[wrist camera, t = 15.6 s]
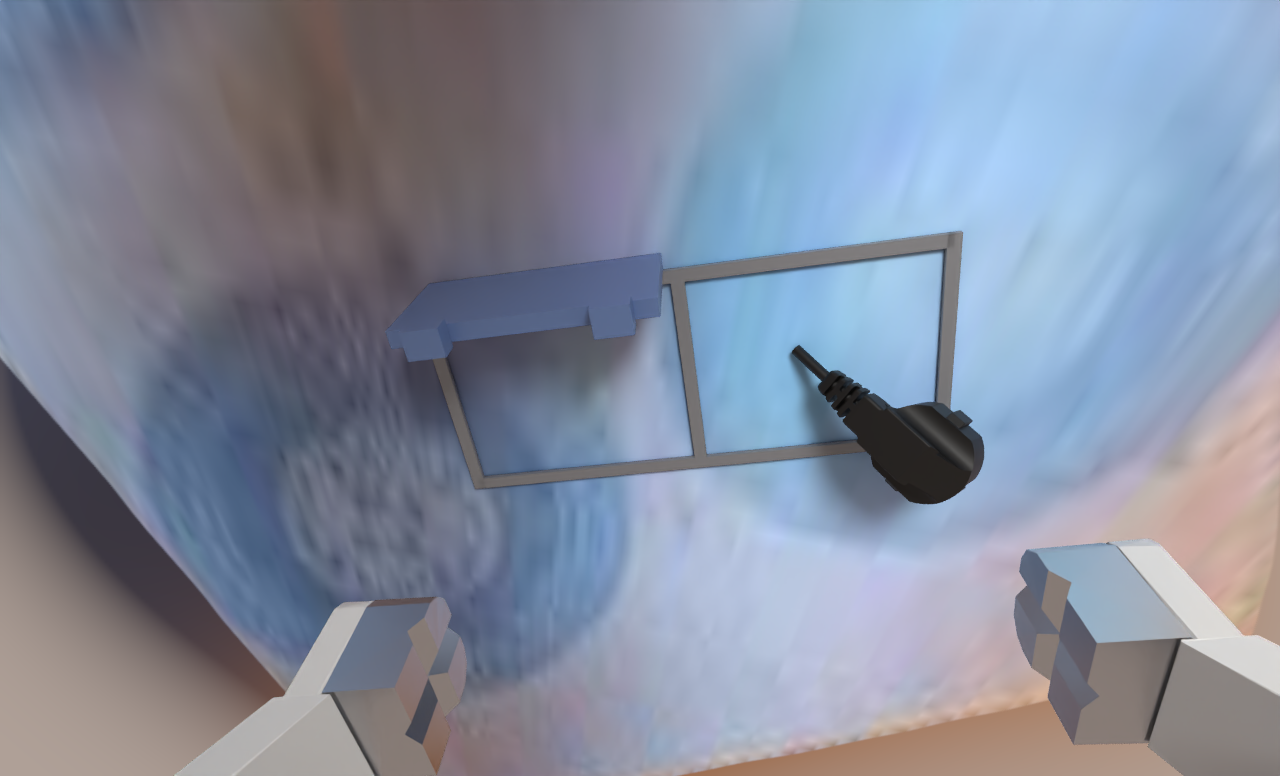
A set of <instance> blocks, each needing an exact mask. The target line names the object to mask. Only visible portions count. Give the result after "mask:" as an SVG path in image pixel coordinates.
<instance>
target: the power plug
mask: <svg viewBox="0 0 1280 776" xmlns="http://www.w3.org/2000/svg"><path fill="white" fill-rule="evenodd" d="M792 354H793V355H794V356H795V357H796V358H797V359H799V360H800V361H801V362H802V363H803V364H804V365H805V366H806V367H807V368H808V369H809V370H810V371H811V372H812V373H814V374H815V375H816V376H817V377H818V378H819V379H820V380H821V381H822V382H821V383H820V384H819V386H818V389H819V391H820V392H821V393H822V395H825V396H826V400H827V401H828V402H834V403H833V404H832V405H831V407H832V408H833V409H834V410H837V411H838V412H837V415H838V416H839V417H844V416H846V417H845V418H844V419H843V422H844V424H845V425H846V426H847V427H848V428H849V429H850V430H851V431H852V432H854V433H855V434H856V435H857V437H858V439H857V440H856V442H857V443H858V444H859V445H860V446H861V447H862V448H863V449H864V450H865V451H866V452H867V453H868V454H869V455H870V456H871V460H872V464H873V467H874V468H875V469H876V470H877V471H878V472H879V473H880V474H881V475H882V476H883V477H885V478H886V480H885V481H886V482H887V483H888V484H889V485H890V486H891V487H892V488H893V489H894V490H895V491H899V492H900V493H901V494H902V495H903V496H904V497H905V498H906V499H907V500H908V501H910V502H914V503H919V504H937V503H940V502H943V501H946V500H948V499H950V498H951V497H953V496H955V495H956V494H958V493H959V492H960V491H962V490H963V489H965V486H966V485H967V484H968V483H970V482H971V481H973V480H974V479H975V478H976V477H977V475H978V474H979V472H980V470H981V467H982V464H983V460H984V445H983V440H982V437H981V436H980V435H979V434H978V433H977V432H976V431H975V430H973V429H972V428H971V427H970V426H969V424H970V423H971V422H972V420H971V419H970V418H969V417H968V416H967V415H965V414H964V413H963V412H962V411H961V410H959V411H956V412H952V411H951V410H950V409H949V408H948V407H947V406H945V405H944V404H943V403H938V402H925V403H919V404H915V405H910V406H906V407H902V408H898V409H897V408H893V407H891V406H890V405H889V404H888V403H886V402H885V401H884V400H883V399H882V398H880V397H879V396H877V395H876V394H874V393H873V394H868V393H869V392H870V390H868V389H866V388H862V385H860V384H859V383H853V381H854V380H853V379H851V378H848V377H846V375H845V374H843V373H842V372H840V371H838V370H837V371H831V372H828V371H827V370H826V369H825V368H824V367H823V366H822V365H820V364H819V363H818V362H817V361H816V360H815V359H814V358H813V357H812V356H811V355H810V354H808V353H807V352H806V351H805V350H804V349H803V348H802V347H801V346H800V345H798V346H797V347H795V348H794V350H793V351H792Z"/></svg>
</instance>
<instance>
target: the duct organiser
mask: <svg viewBox="0 0 1280 776" xmlns="http://www.w3.org/2000/svg"><path fill="white" fill-rule="evenodd" d="M962 239H963V232H962V231H956V232H948V233H940V234H933V235H925V236H917V237H910V238H902V239H894V240H887V241H879V242H871V243H863V244H856V245H848V246H840V247H833V248H825V249H817V250H809V251H802V252H794V253H786V254H779V255H771V256H763V257H756V258H748V259H740V260H732V261H725V262H717V263H709V264H702V265H694V266H686V267H678V268H671V269H663V265H662V258H661V253H657V254H649V255H642V256H634V257H627V258H619V259H611V260H604V261H596V262H589V263H581V264H574V265H566V266H559V267H551V268H544V269H536V270H529V271H521V272H513V273H506V274H498V275H491V276H483V277H476V278H468V279H461V280H453V281H446V282H438V283H430V284H428V285H427V286H426V287H425V289H424V290H423V291H422V292H421V293H420V294H419V295H418V296H417V297H416V298H415V300H414V301H413V302H412V303H411V304H410V305H409V306H408V307H407V308H406V309H405V310H404V312H403V313H402V314H401V315H400V316H399V317H398V318H397V319H396V320H395V321H394V323H393V324H392V325H391V326H390V327H389V328H388V329H387V330H386V331H385V333H386V335H387V338H388V341H389V344H390V346H391V349H398V348H404V351H405V354H406V357H407V360H408V362H413V361H422V360H430V359H433V362H434V365H435V368H436V371H437V374H438V377H439V380H440V383H441V386H442V389H443V393H444V396H445V399H446V402H447V405H448V408H449V411H450V414H451V417H452V420H453V423H454V426H455V429H456V432H457V435H458V438H459V441H460V444H461V447H462V450H463V453H464V456H465V459H466V462H467V465H468V468H469V471H470V474H471V477H472V480H473V484H474V487H475V489H481V488H491V487H502V486H512V485H523V484H533V483H544V482H554V481H564V480H575V479H585V478H596V477H606V476H617V475H627V474H638V473H648V472H659V471H669V470H680V469H690V468H700V467H711V466H721V465H732V464H742V463H753V462H763V461H774V460H784V459H795V458H805V457H815V456H826V455H836V454H847V453H857V452H866V451H865V450H864V449H863V448H862V447H861V446H860V445H859V444H858V443H857V442H856V440H849V441H839V442H829V443H819V444H808V445H798V446H788V447H778V448H767V449H757V450H747V451H737V452H727V453H716V454H706V446H705V438H704V430H703V422H702V414H701V407H700V399H699V391H698V383H697V375H696V367H695V359H694V352H693V344H692V336H691V328H690V320H689V312H688V304H687V297H686V289H685V282H686V281H694V280H702V279H710V278H718V277H726V276H733V275H741V274H749V273H757V272H765V271H773V270H781V269H788V268H796V267H804V266H812V265H820V264H828V263H836V262H843V261H851V260H859V259H867V258H875V257H883V256H891V255H899V254H906V253H914V252H922V251H930V250H938V249H945V258H944V274H943V291H942V307H941V323H940V340H939V356H938V372H937V389H936V402H938V403H943V404H944V405H945V406H947V407H948V408H949V409H950V404H951V390H952V376H953V363H954V349H955V335H956V322H957V308H958V294H959V280H960V267H961V253H962ZM663 284H671V289H672V296H673V303H674V311H675V318H676V325H677V332H678V340H679V347H680V354H681V361H682V369H683V376H684V383H685V391H686V398H687V405H688V412H689V420H690V427H691V434H692V441H693V449H694V456H686V457H675V458H665V459H655V460H645V461H634V462H624V463H614V464H604V465H593V466H583V467H573V468H563V469H553V470H542V471H532V472H522V473H512V474H501V475H491V476H484V473H483V470H482V467H481V464H480V461H479V458H478V454H477V451H476V448H475V445H474V442H473V439H472V436H471V432H470V429H469V426H468V423H467V420H466V417H465V414H464V410H463V407H462V404H461V401H460V398H459V395H458V392H457V388H456V385H455V382H454V379H453V376H452V373H451V370H450V366H449V363H448V360H447V356H448V354H449V353H450V351H451V350H452V348H453V344H452V342H455V341H463V340H471V339H480V338H488V337H496V336H504V335H513V334H521V333H529V332H537V331H545V330H554V329H562V328H570V327H578V326H586V325H591V327H592V332H593V337H594V340H598V339H606V338H615V337H623V336H631V335H635V330H636V321H635V320H636V319H644V318H652V317H660V314H661V297H662V285H663Z"/></svg>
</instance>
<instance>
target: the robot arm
mask: <svg viewBox="0 0 1280 776" xmlns="http://www.w3.org/2000/svg"><path fill="white" fill-rule="evenodd" d="M1019 572H1020V574H1021V576H1022V577H1023V579H1024V581H1025V582H1026V584H1027V586H1026V587H1025V588H1024V589H1023V590H1022V591H1021V592H1020V593H1019V594H1018V595H1017V596H1016V598H1015V609H1014V619H1015V625H1016V631H1017V636H1018V639H1019V642H1020V644H1021V647H1022V650H1023V652H1024V654H1025V656H1026V658H1027V660H1028V662H1029V664H1030V666H1031V668H1033V669H1034V670H1036V671H1037V672H1039V673H1040V674H1042V675H1043V676H1044V677H1046V678H1047V679H1049V680H1050V687H1049V692H1048V699H1049V701H1050V703H1051V704H1052V706H1053V708H1054V710H1055V712H1056V714H1057V715H1058V717H1059V719H1060V721H1061V723H1062V725H1063V726H1064V728H1065V730H1066V732H1067V734H1068V736H1069V737H1070V739H1071V741H1072V743H1073V744H1074V745H1083V744H1084V745H1085V744H1132V743H1149V744H1148V748H1150V749H1151V750H1152V751H1154V752H1155V753H1156V754H1157V755H1159V756H1160V757H1161V758H1162V759H1164V760H1165V761H1166V762H1167V763H1169V764H1170V765H1171V766H1172V767H1174V768H1175V769H1176V770H1177V771H1179V772H1180V773H1181V774H1182V775H1184V776H1280V646H1278V645H1276V644H1274V643H1272V642H1270V641H1268V640H1266V639H1264V638H1262V637H1260V636H1258V635H1256V636H1255V635H1254V636H1244V635H1243V634H1242V633H1241V632H1240V631H1239V630H1238V629H1237V627H1236V626H1235V625H1234V624H1233V623H1232V622H1231V621H1230V620H1229V619H1228V618H1227V617H1226V616H1225V614H1224V613H1223V612H1222V611H1221V610H1220V609H1219V608H1218V607H1217V606H1216V605H1215V604H1214V602H1213V601H1212V600H1211V599H1210V598H1209V597H1208V596H1207V595H1206V594H1205V593H1204V592H1203V591H1202V589H1201V588H1200V587H1199V586H1198V585H1197V584H1196V583H1195V582H1194V581H1193V580H1192V579H1191V578H1190V576H1189V575H1188V574H1187V573H1186V572H1185V571H1184V570H1183V569H1182V568H1181V567H1180V566H1179V564H1178V563H1177V562H1176V561H1175V560H1174V559H1173V558H1172V557H1171V556H1170V555H1169V554H1168V553H1167V551H1166V550H1165V549H1164V548H1163V547H1162V546H1161V545H1160V544H1159V543H1157V542H1155V541H1153V540H1151V539H1138V540H1127V541H1116V542H1108V543H1106V544H1105V543H1096V544H1085V545H1074V546H1062V547H1051V548H1040V549H1028V550H1026V551H1025V553H1024V555H1023V556H1022V558H1021V564H1020V570H1019ZM451 615H452V614H451V612H450V610H449V608H448V606H447V603H446V601H445V599H443V598H440V597H424V598H405V599H386V600H375V601H363V602H344V603H342V604H341V605H339V606H338V607H337V608H335V609H334V611H333V612H332V614H331V616H330V617H329V619H328V621H327V622H326V624H325V626H324V628H323V629H322V631H321V633H320V634H319V636H318V638H317V640H316V641H315V643H314V645H313V646H312V648H311V650H310V652H309V653H308V655H307V657H306V659H305V660H304V662H303V664H302V665H301V667H300V669H299V671H298V672H297V674H296V676H295V677H294V679H293V681H292V683H291V684H290V686H289V688H288V689H287V691H286V693H285V695H284V696H283V697H274V698H272V699H271V700H270V701H268V702H267V703H266V704H265V705H263V706H262V707H261V708H259V709H258V710H257V711H256V712H254V713H253V714H252V715H250V716H249V717H248V718H247V719H245V720H244V721H243V722H241V723H240V724H239V725H238V726H236V727H235V728H234V729H233V730H231V731H230V732H229V733H227V734H226V735H225V736H224V737H222V738H221V739H220V740H219V741H217V742H216V743H215V744H213V745H212V746H211V747H209V748H208V749H207V750H206V751H204V752H203V753H202V754H201V755H199V756H198V757H197V758H195V759H194V760H193V761H192V762H190V763H189V764H188V765H186V766H185V767H184V768H183V769H181V770H180V771H179V772H178V773H176V774H175V775H174V776H432V775H437V773H438V769H439V766H440V763H441V760H442V757H443V754H444V751H445V748H446V745H447V741H448V738H449V735H450V732H451V729H450V727H449V725H448V722H447V720H446V718H445V717H446V716H447V715H448V714H449V713H450V712H451V711H452V710H453V709H454V708H455V707H456V706H457V705H458V704H459V703H460V700H461V697H462V693H463V690H464V687H465V681H466V668H467V661H466V654H465V648H464V645H463V643H462V640H461V637H460V636H459V635H458V634H456V633H455V632H453V631H452V630H451V629H449V628H448V627H447V626H448V623H449V621H450V618H451Z"/></svg>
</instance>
